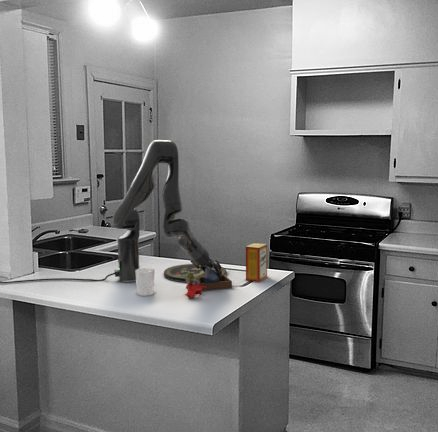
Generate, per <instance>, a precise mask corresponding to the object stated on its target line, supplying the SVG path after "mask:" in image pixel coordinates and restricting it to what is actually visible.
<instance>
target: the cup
mask: <svg viewBox="0 0 438 432" xmlns="http://www.w3.org/2000/svg"><path fill="white" fill-rule="evenodd" d="M211 260H212V261H214V262H215V260H216V259H215V260H214V259H211ZM217 261H218V262H219V263H220V261H219V260H217ZM212 265H213V264H212ZM212 265H211V267H212ZM214 269H215V268H214ZM213 282H219V276H218V275H217V274H216V273H215V272H214V271H213V270H210V269H208V268H207V267H205V283H213Z"/></svg>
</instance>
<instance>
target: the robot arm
mask: <svg viewBox="0 0 438 432" xmlns="http://www.w3.org/2000/svg"><path fill="white" fill-rule="evenodd" d="M179 159H180V158H179V149H178V145H177V144H176V142H175V141H173V140H163V139H157V140H155V139H154V140H152V141H151V142H150V144H149V145H148V147H147V149H146V151H145V155H144V157H143V160H142V163H141V165H140V167H139V169H138V171H137V173H136V175H135V177H134V178H133V180H132V182H131V184H130V185H129V188H128V190H127V192H126V193H125V195H124V197H123V199H122V200H121V202H120V203H119V205H118V206H117V207H116V209H115V210H114V212H113V214H112V225H113V227H114V228H116V229H117V230H125V232H123V233H122V234H121V235H120V236H118V237H117V269H114V272H113V273H109V274H107V275H106V276H105V278H102V279H93V278H75V277H74V278H73V277H72V278H71V277H68V278H67V277H62V278H61V277H59V278H58V277H57V278H35V279H24V280H23V279H22V280H11V281H0V284H15V283H16V284H17V283H27V282H28V283H29V282H40V281H41V282H42V281H84V282H85V281H87V282H103V281H106V280H107V279H108V278H109V277H111V276H114V277H115V278H118V282H119V283H134V282H135V283H136V273H135V270H137V269H140V268H141V267H140V250H139V249H140V247H139V246H140V245H139V239H140V231H141V230H140V225H141V219H140V212H139V211H138V209H137V208H138V207H139V206H141V205H142V204H144V203H145V202H146V201H147V200H148V199H150V196H151V195H152V193H153V191H154V189H155V187H156V179H155V175H154V170H155V168H156V167H157V166H158V165H159V164H166V165H167V177H166V180H165V183H164V185H163V189H162V192H161V193H162V202H163V210H164V214H163V222H162V230H163V234H164V236H165V237H166V238H168V239H176V238H178V239H177V243H178V245H179V247H180V249H182V251H184V254H185V255H186V256H187V257H188V258H189V259H190V264H193V265H194V266H195V267H196V268H197V269H199V268H200V269H201V270H203V271H204V272H205V267H207V268H208V269H210V270H213V271H214V272H215V273H216V274H217V275H218V276H219V277H220V276H221V274H222V272H221V271H220V270H221V268H222V267H223V266H222V265H221V264H220V261H219V260H217V259H215V262H214V261H212V260H213V259H211V258H210V254H209V252H208V250H207V249H206V248H205V247H204V245H203V244H202V243H201V241H199V240H198V238H196V236H195V235H194V233H193V231H192V228H191V225H190V222H189V220H187V219H186V218H182V217H181V218H176V219H175V217H176V215H179V214H180V213H181V212H182V211H183V205H182V198H181V192H180V171H179V170H180V165H179V164H180V162H179V161H180V160H179ZM218 261H219V262H218ZM212 264H213V265H212ZM197 265H198V266H197ZM211 265H212V267H211ZM214 268H215V269H214Z"/></svg>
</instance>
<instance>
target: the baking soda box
mask: <svg viewBox="0 0 438 432" xmlns="http://www.w3.org/2000/svg"><path fill="white" fill-rule="evenodd" d="M266 278H268V243H258V242H253V243H250V244H248V245H246V246H245V281H249V282H258V283H260V282H262V281H263V280H265V279H266Z"/></svg>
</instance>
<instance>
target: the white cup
mask: <svg viewBox="0 0 438 432" xmlns="http://www.w3.org/2000/svg"><path fill="white" fill-rule="evenodd" d="M139 268H140V269H137V270H135V273H136V281H135V283H136V292H137V293H136V294H137V295H138V296H141V297H142V296H144V297H147V296H152V295H154V294H155V273H156V272H155V268H151V267H139Z"/></svg>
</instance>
